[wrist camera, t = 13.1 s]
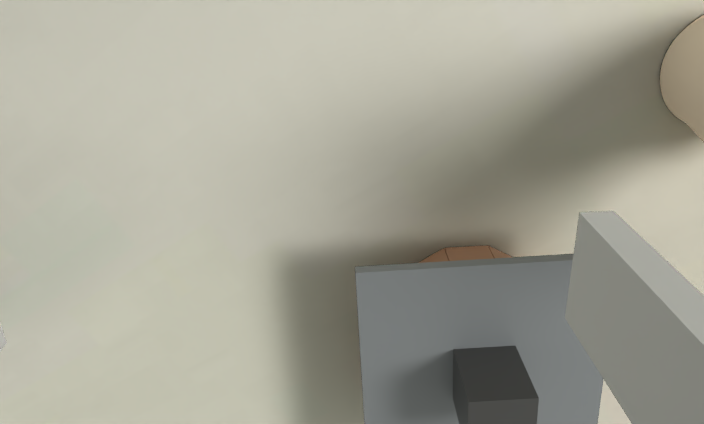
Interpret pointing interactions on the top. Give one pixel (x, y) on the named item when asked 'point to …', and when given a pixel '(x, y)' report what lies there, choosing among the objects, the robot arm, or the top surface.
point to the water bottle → (686, 77)
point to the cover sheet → (473, 344)
